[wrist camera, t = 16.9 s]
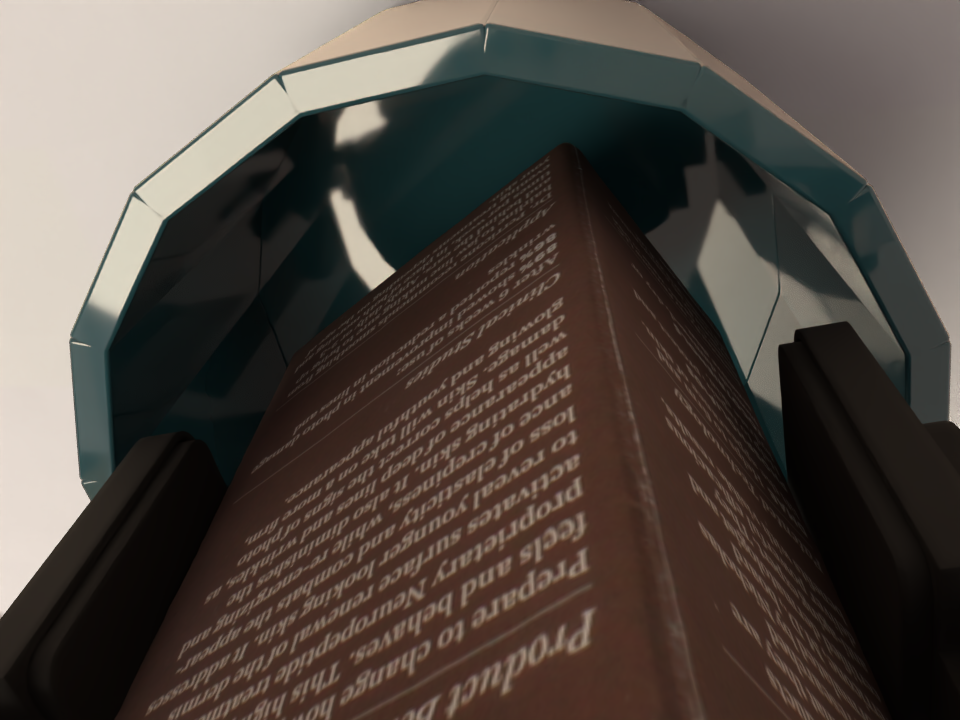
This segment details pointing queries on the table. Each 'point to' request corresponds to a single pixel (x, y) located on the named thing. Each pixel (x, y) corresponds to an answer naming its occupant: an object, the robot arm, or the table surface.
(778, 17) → the table surface
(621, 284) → the box
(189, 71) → the table surface
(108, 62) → the table surface
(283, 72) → the teal round container
